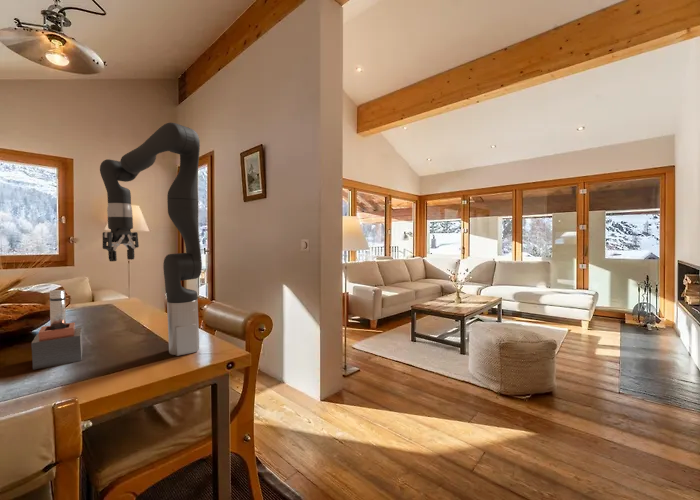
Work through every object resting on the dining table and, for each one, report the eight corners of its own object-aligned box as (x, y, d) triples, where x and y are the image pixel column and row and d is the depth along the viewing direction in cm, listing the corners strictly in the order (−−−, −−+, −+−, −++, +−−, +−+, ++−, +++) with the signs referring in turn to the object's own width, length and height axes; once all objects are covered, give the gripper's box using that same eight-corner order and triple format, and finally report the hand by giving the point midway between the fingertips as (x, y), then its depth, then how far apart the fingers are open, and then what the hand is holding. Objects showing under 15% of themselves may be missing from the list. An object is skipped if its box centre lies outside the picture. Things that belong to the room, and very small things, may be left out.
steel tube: (66, 335, 103) (65, 291, 102) (49, 337, 101) (48, 292, 100) (66, 332, 106) (65, 289, 105) (50, 334, 104) (49, 290, 103)
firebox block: (81, 360, 103) (79, 327, 102) (32, 369, 96) (30, 334, 95) (82, 350, 111) (80, 320, 111) (38, 358, 104) (36, 326, 104)
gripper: (114, 215, 112) (116, 262, 113) (143, 217, 126) (145, 258, 127) (93, 215, 112) (96, 262, 113) (125, 217, 127) (127, 258, 127)
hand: (122, 260), depth 120 cm, fingers open, 8 cm apart
